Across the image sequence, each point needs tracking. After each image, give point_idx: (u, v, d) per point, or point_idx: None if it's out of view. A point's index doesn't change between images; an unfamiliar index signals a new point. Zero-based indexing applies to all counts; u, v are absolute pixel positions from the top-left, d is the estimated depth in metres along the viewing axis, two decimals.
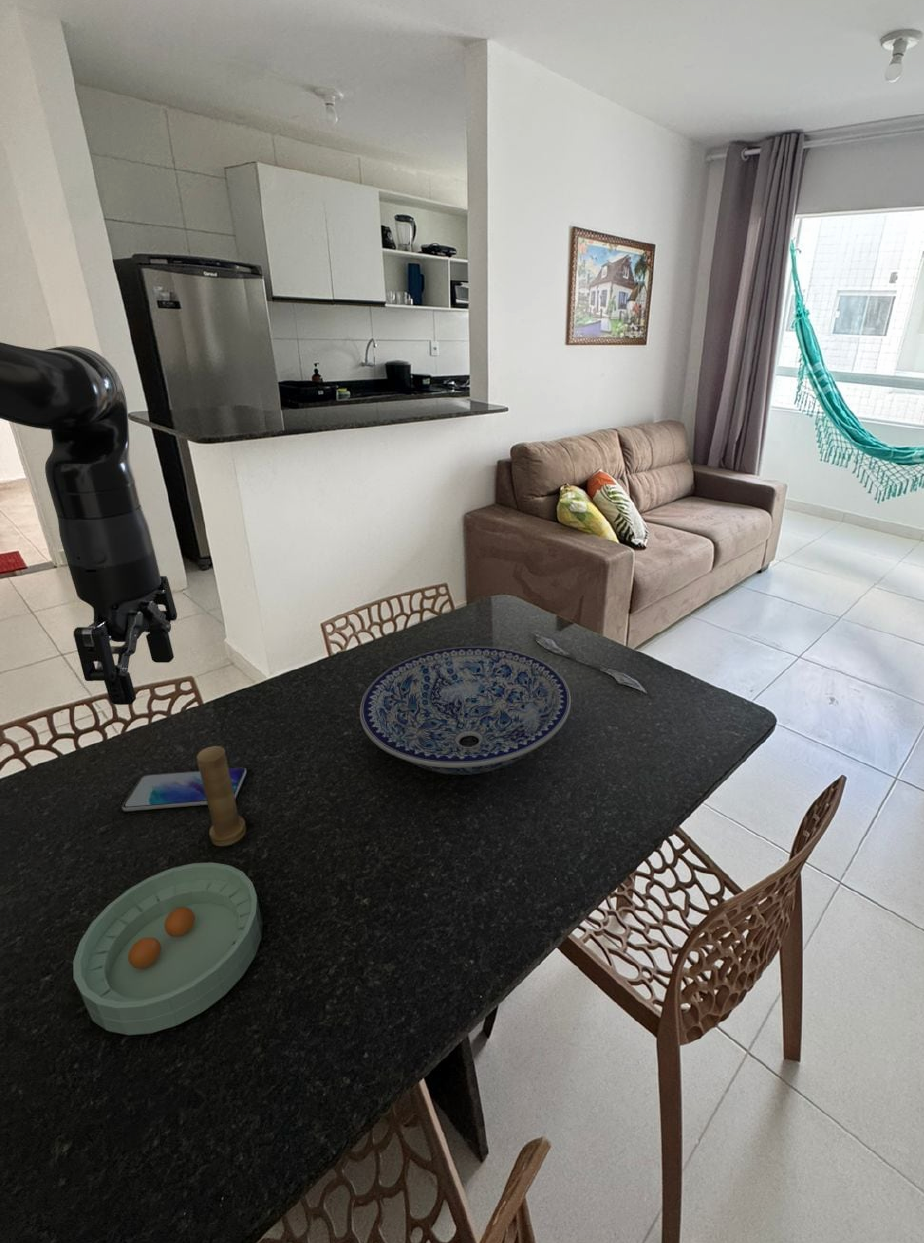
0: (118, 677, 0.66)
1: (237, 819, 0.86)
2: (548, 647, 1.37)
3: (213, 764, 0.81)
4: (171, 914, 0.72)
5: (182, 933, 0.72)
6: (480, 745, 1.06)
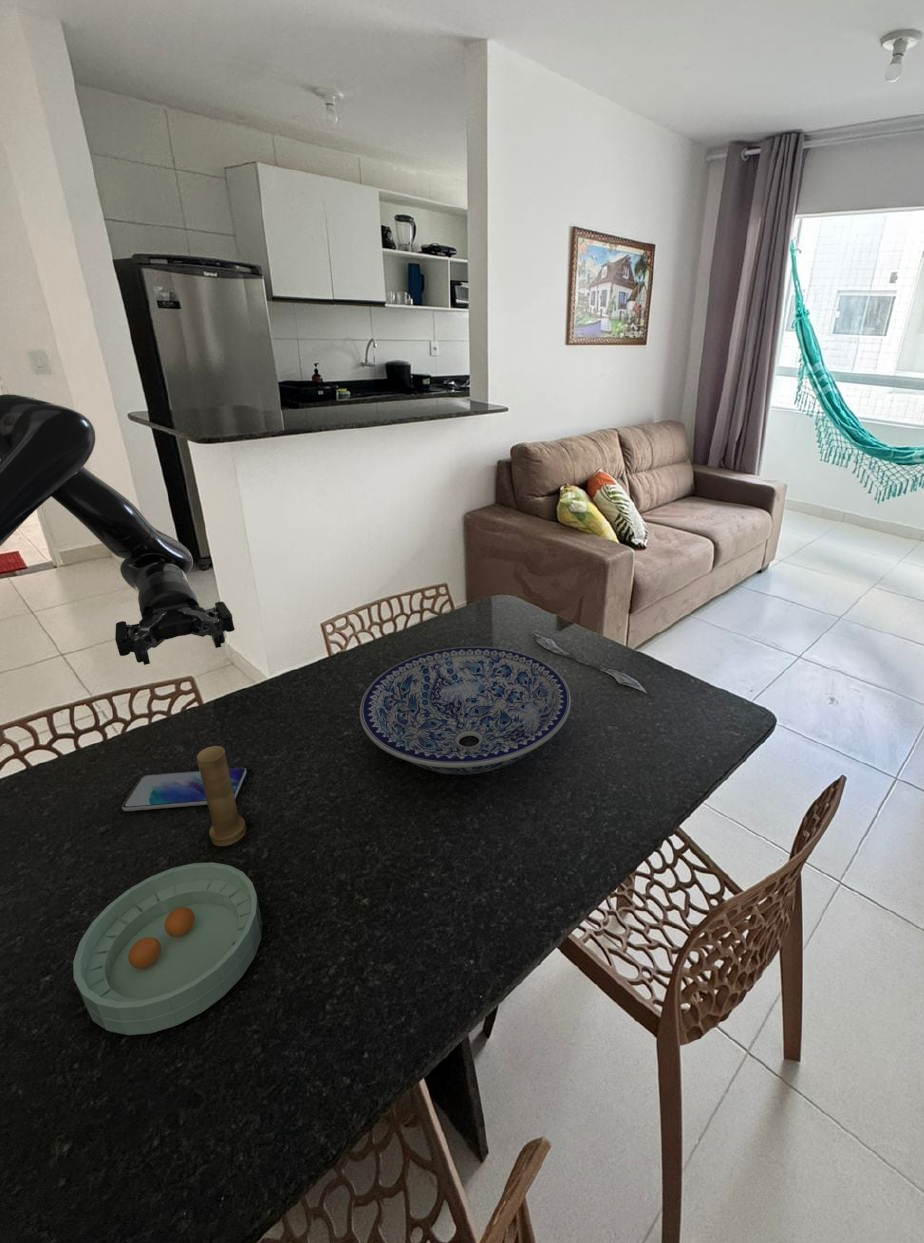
0: None
1: (237, 819, 0.86)
2: (548, 647, 1.37)
3: (213, 764, 0.81)
4: (171, 914, 0.72)
5: (182, 933, 0.72)
6: (480, 745, 1.06)
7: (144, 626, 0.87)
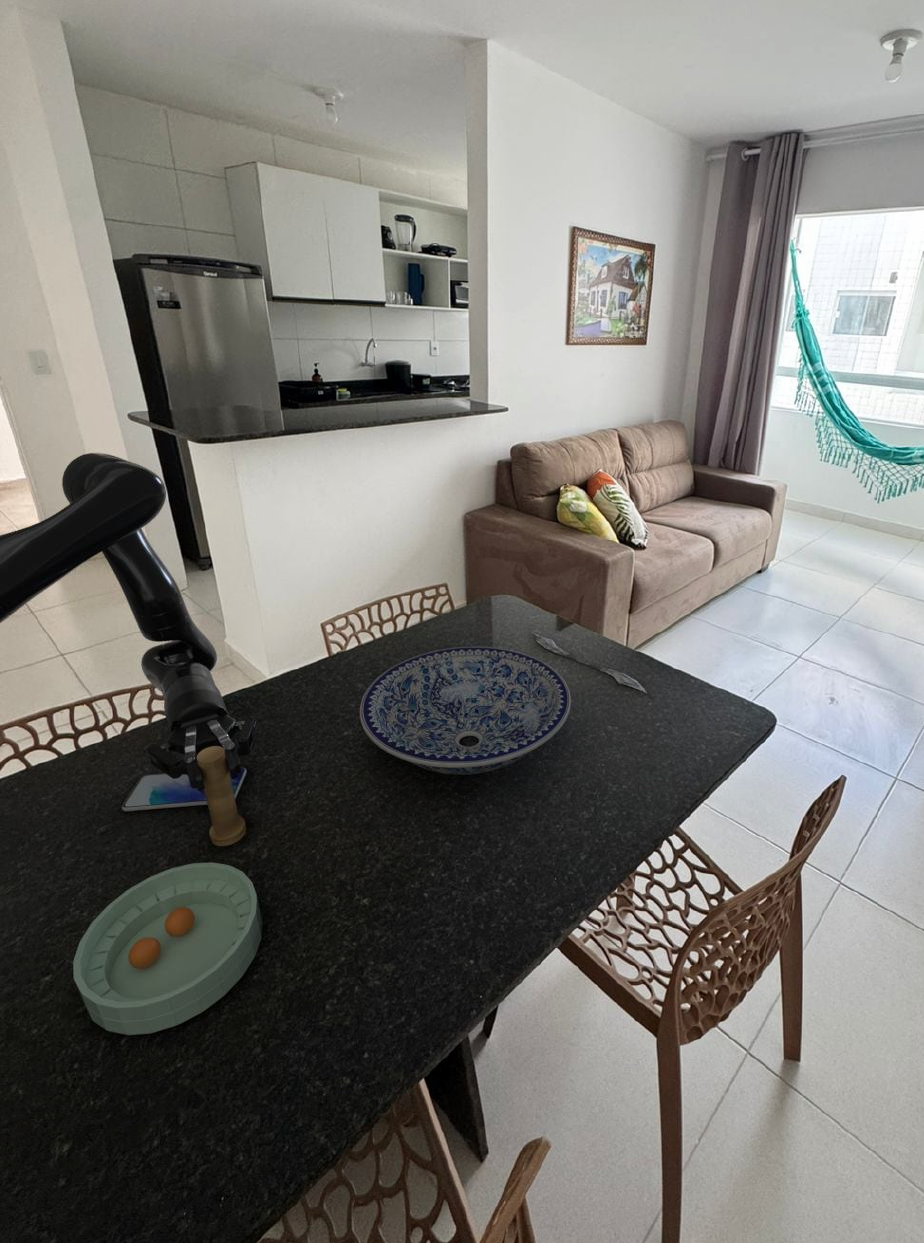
0: None
1: (237, 819, 0.86)
2: (548, 647, 1.37)
3: (213, 764, 0.81)
4: (171, 914, 0.72)
5: (182, 933, 0.72)
6: (480, 745, 1.06)
7: (188, 746, 0.83)
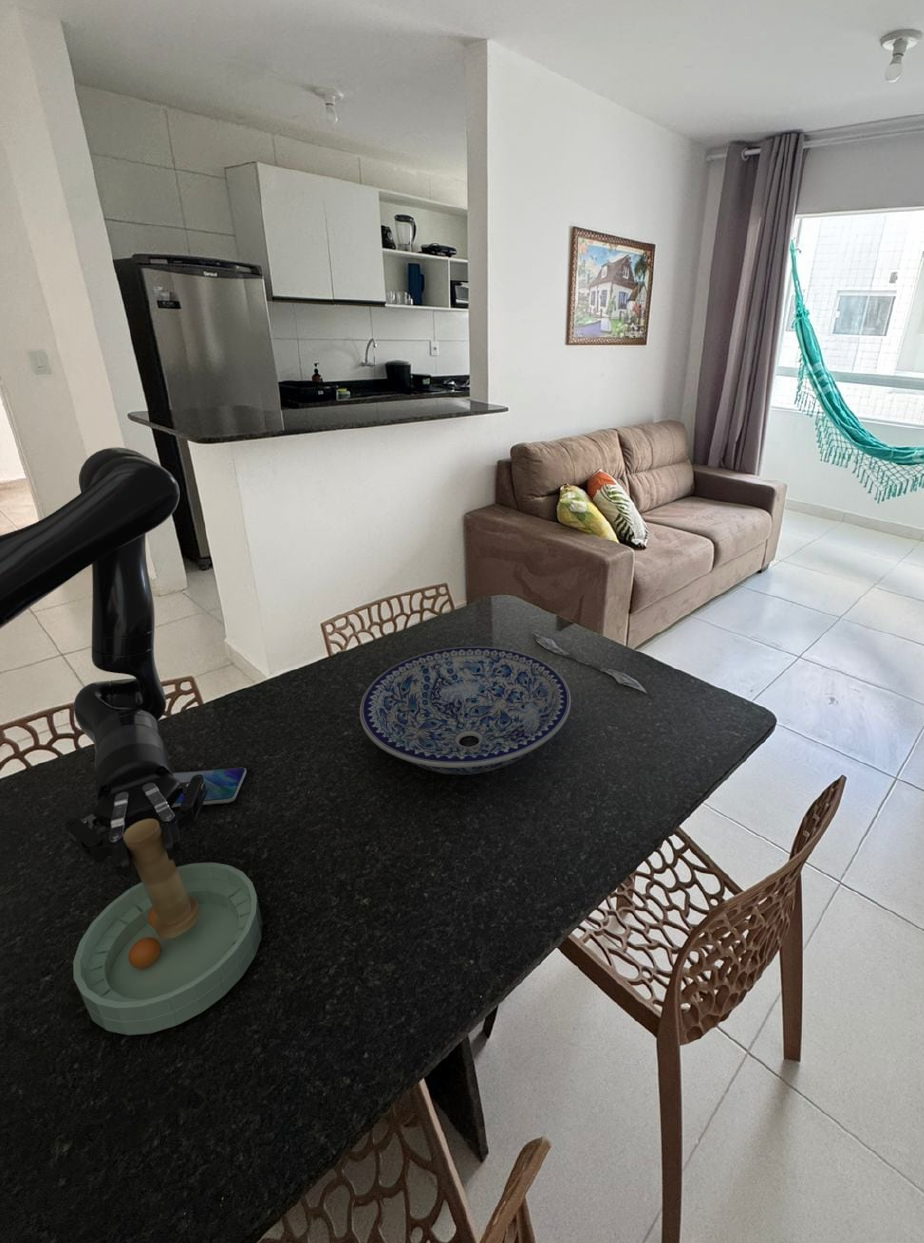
0: None
1: (186, 903, 0.71)
2: (548, 647, 1.37)
3: (144, 843, 0.65)
4: None
5: None
6: (480, 745, 1.06)
7: (115, 819, 0.67)
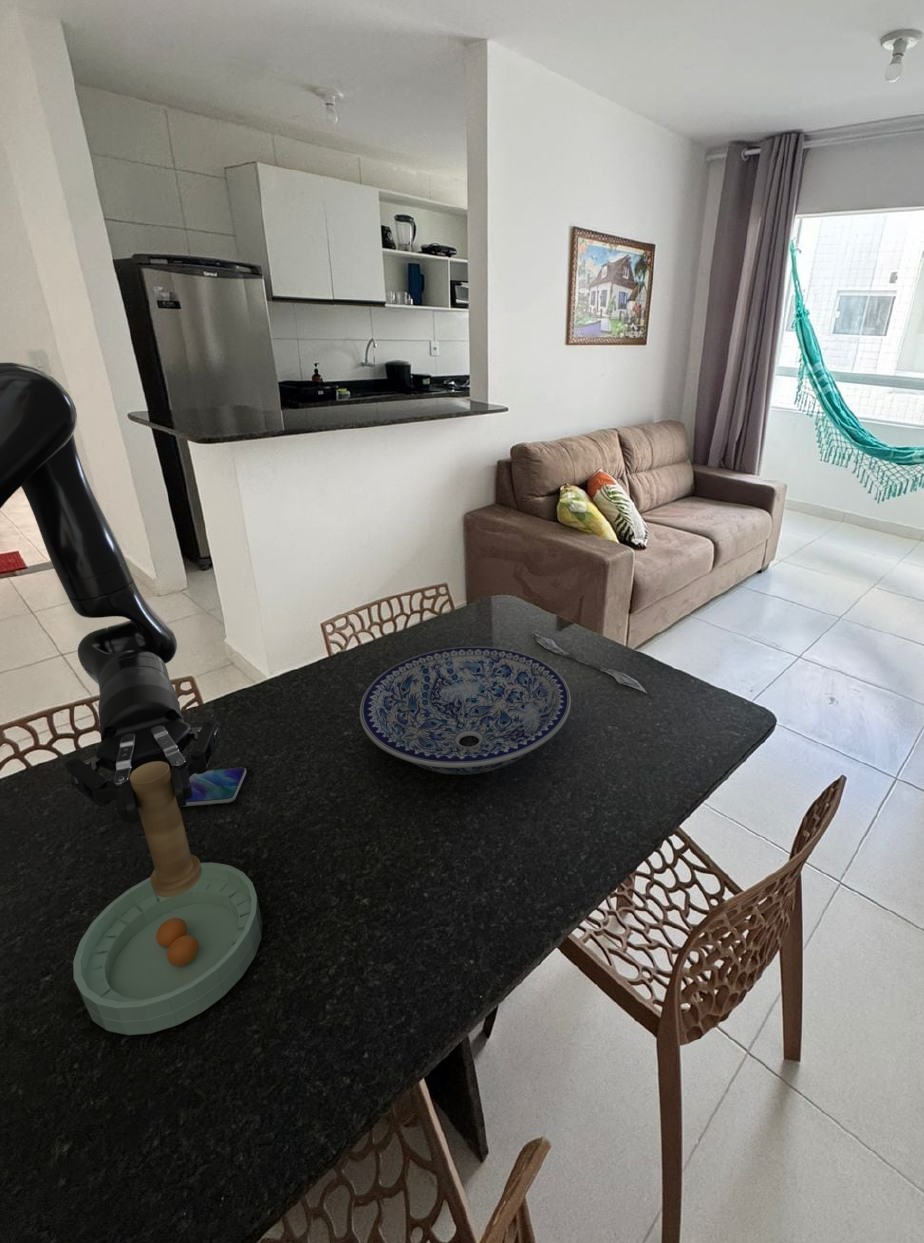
0: None
1: (188, 860, 0.64)
2: (548, 647, 1.37)
3: (152, 786, 0.59)
4: (169, 925, 0.71)
5: (165, 947, 0.71)
6: (480, 745, 1.06)
7: (121, 761, 0.61)
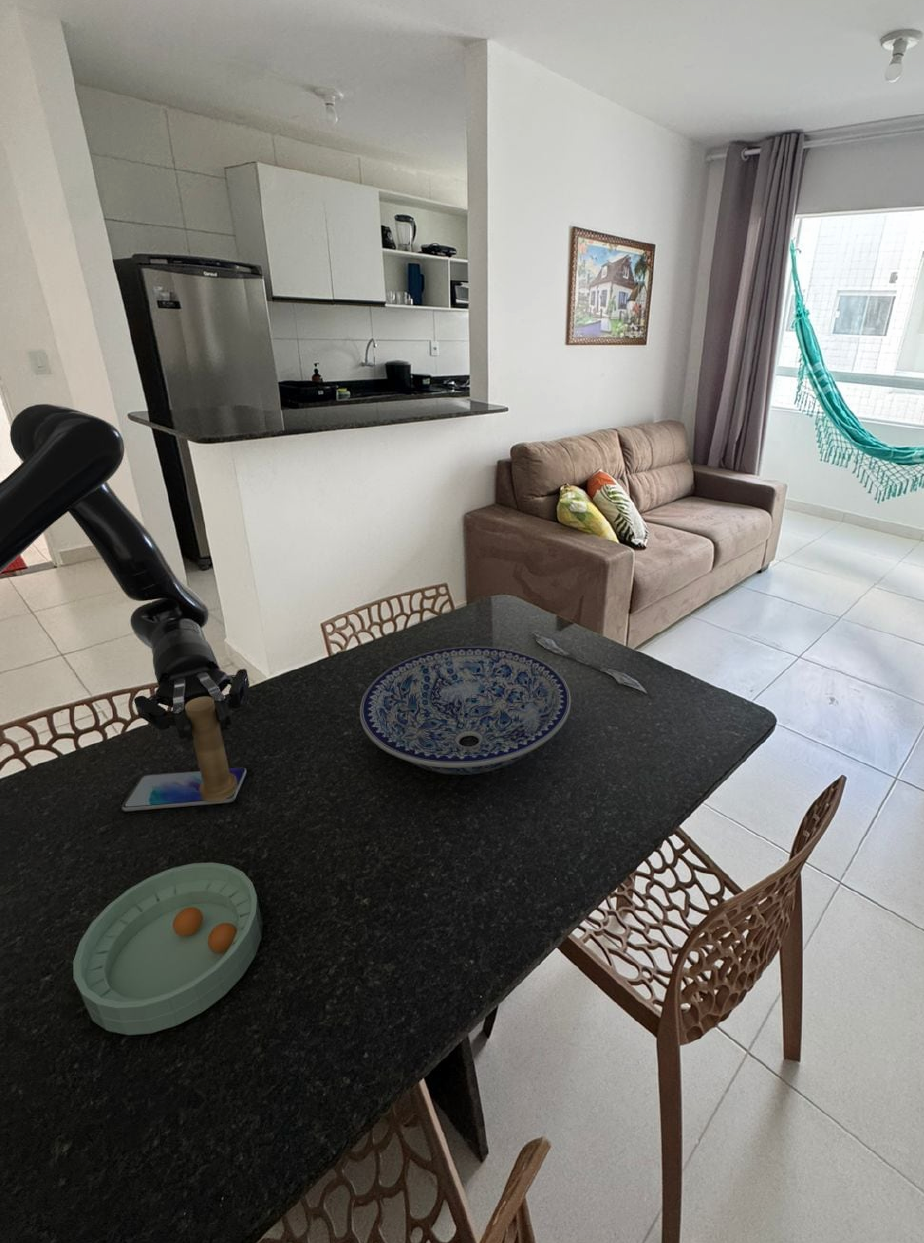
0: None
1: (228, 775, 0.83)
2: (548, 647, 1.37)
3: (202, 713, 0.78)
4: (199, 911, 0.74)
5: (177, 926, 0.72)
6: (480, 745, 1.06)
7: (176, 697, 0.80)
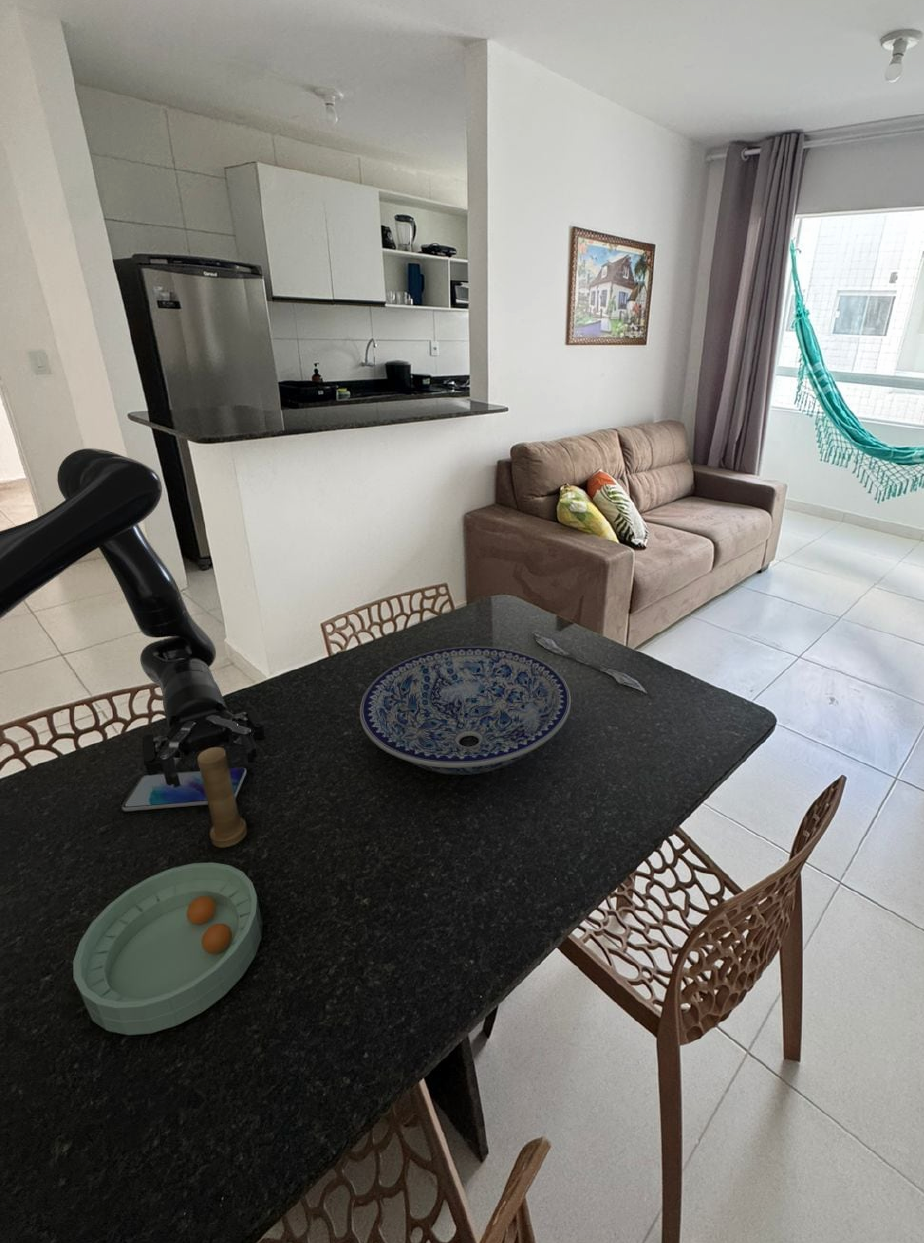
0: None
1: (238, 820, 0.86)
2: (548, 647, 1.37)
3: (214, 765, 0.81)
4: None
5: (201, 901, 0.74)
6: (480, 745, 1.06)
7: (173, 741, 0.83)
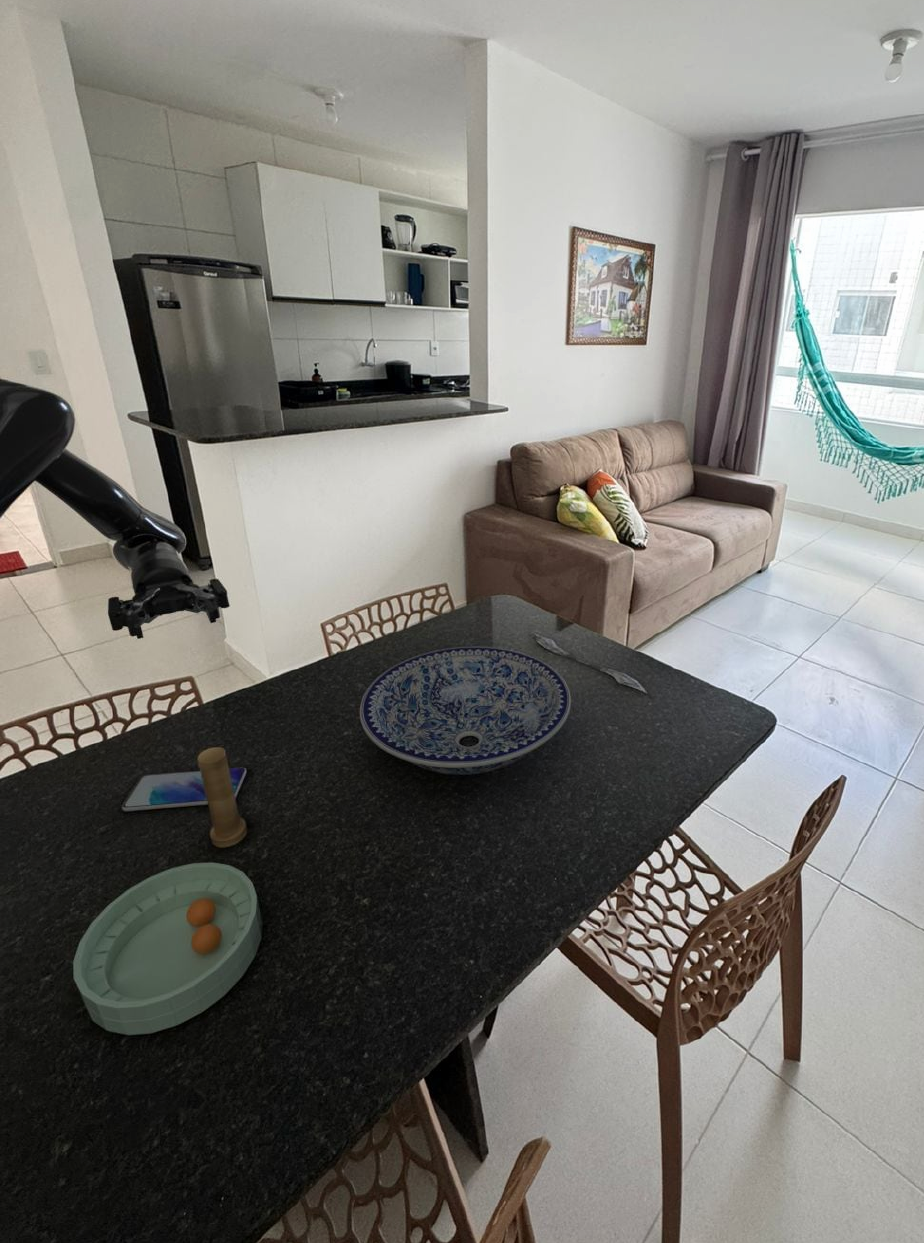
0: None
1: (238, 820, 0.86)
2: (548, 647, 1.37)
3: (214, 765, 0.81)
4: None
5: (201, 905, 0.73)
6: (480, 745, 1.06)
7: (137, 601, 0.86)
